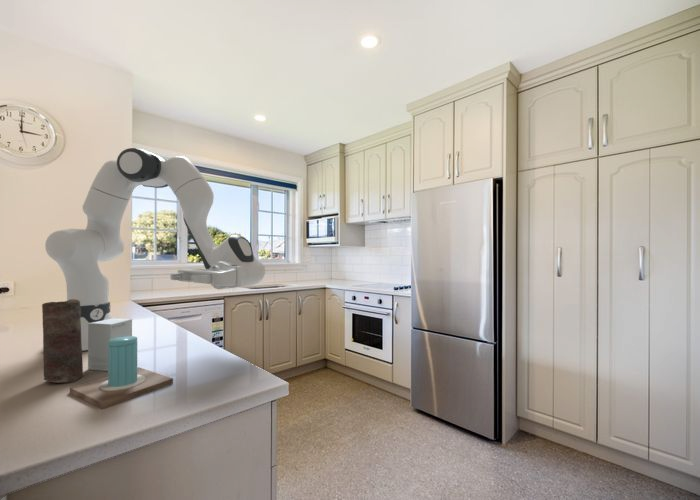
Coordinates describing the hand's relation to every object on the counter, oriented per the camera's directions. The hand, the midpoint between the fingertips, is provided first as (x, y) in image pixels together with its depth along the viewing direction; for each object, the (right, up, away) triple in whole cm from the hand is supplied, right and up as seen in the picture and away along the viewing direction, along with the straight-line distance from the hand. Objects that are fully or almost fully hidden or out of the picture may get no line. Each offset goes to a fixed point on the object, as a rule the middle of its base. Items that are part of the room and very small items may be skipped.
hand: (181, 278), depth 94 cm
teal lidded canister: (-6, -23, -16) cm, 28 cm away
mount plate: (-6, -25, -16) cm, 30 cm away
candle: (-24, -25, -11) cm, 36 cm away
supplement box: (-19, -25, -1) cm, 31 cm away
